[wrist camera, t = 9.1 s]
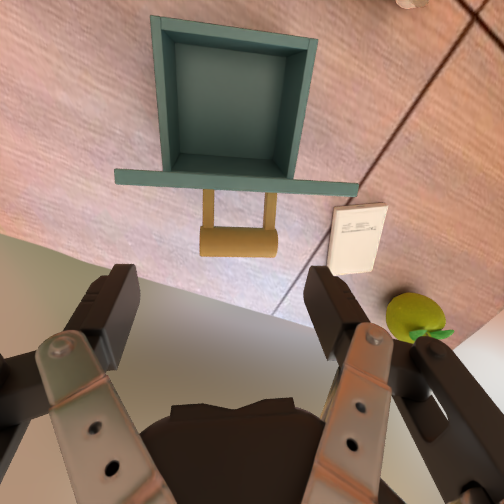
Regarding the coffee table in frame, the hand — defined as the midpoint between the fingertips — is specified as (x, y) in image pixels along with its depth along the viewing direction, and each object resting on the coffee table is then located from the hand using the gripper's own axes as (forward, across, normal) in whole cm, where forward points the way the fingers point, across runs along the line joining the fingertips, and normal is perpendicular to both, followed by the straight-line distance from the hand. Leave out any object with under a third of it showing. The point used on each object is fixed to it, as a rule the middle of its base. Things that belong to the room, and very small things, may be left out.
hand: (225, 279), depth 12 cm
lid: (+11, -1, -1) cm, 11 cm away
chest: (+27, -1, -5) cm, 27 cm away
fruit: (+26, -37, +27) cm, 53 cm away
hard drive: (+26, -22, +13) cm, 37 cm away
